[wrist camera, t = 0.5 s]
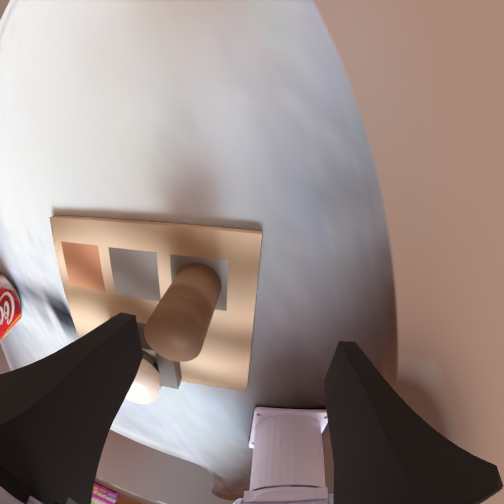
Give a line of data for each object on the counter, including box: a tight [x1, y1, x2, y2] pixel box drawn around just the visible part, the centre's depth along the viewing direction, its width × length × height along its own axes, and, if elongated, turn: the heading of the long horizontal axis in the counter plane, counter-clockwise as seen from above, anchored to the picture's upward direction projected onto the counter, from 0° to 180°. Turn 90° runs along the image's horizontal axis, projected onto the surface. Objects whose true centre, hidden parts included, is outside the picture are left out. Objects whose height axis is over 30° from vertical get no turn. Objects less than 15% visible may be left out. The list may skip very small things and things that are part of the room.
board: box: [50, 215, 262, 391], centre depth 20 cm, size 15×17×2 cm
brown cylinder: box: [144, 263, 222, 362], centre depth 16 cm, size 3×3×6 cm
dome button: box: [125, 350, 162, 404], centre depth 20 cm, size 5×5×3 cm
